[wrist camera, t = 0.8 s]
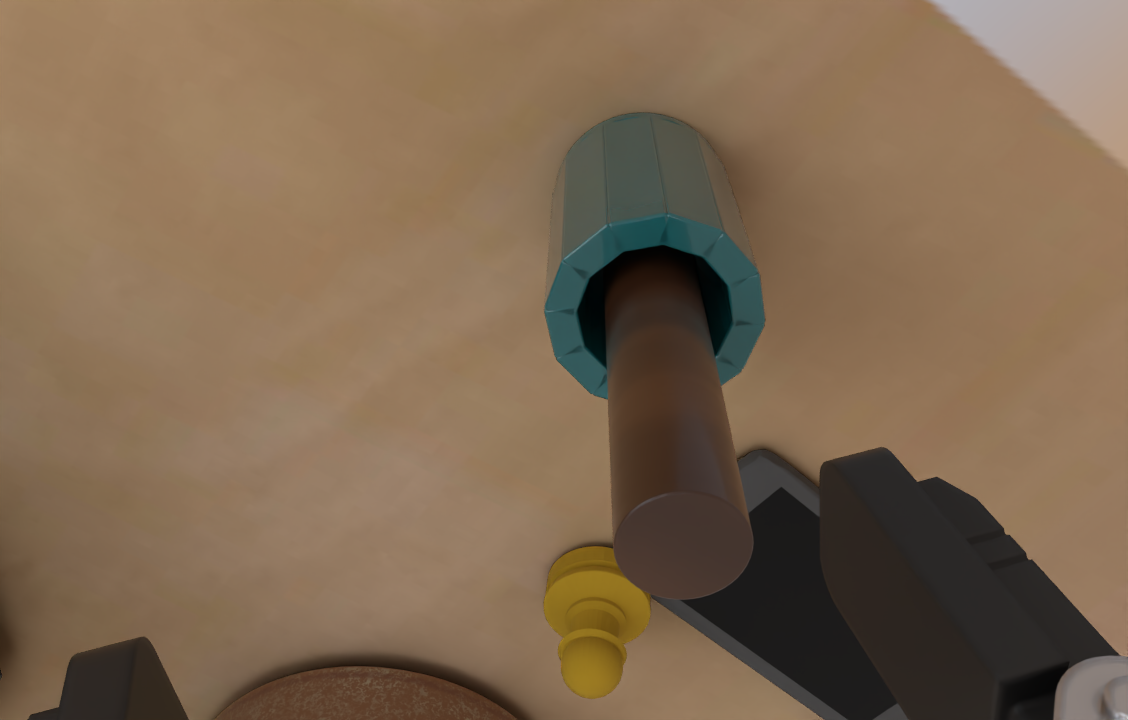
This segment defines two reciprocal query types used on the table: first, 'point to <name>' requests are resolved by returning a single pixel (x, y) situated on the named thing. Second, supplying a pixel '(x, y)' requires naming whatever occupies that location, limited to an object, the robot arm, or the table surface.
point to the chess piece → (593, 618)
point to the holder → (646, 237)
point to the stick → (669, 432)
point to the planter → (362, 698)
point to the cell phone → (789, 604)
